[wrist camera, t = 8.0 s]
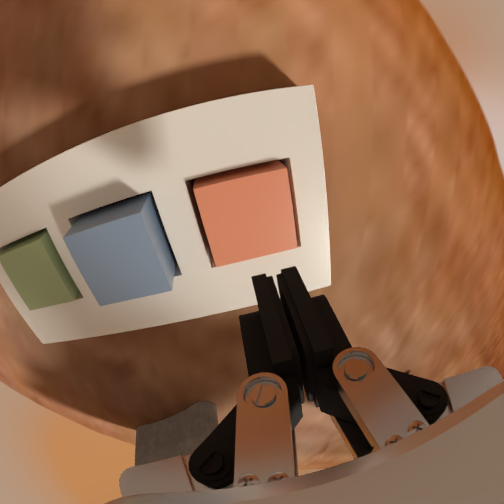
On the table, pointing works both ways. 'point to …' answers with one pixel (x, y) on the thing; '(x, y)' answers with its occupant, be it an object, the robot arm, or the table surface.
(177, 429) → the hip flask
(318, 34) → the table surface
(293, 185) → the button board
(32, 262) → the olive green button
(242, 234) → the terracotta button
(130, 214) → the slate blue button
